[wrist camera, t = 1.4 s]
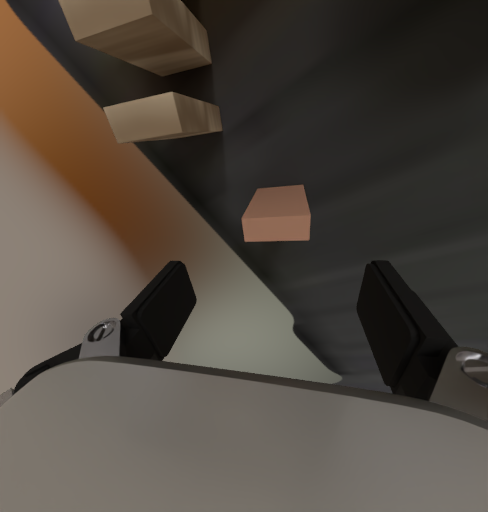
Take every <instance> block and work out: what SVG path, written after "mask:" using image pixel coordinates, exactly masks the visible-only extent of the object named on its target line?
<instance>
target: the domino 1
mask: <svg viewBox="0 0 488 512" xmlns="http://www.w3.org/2000/svg"><path fill="white" fill-rule="evenodd" d="M59 2H60V5H61V7H62V10H63V12H64V15H65V17H66V19H67V22H68V24H69V27H70V29H71V31H72V34H73V36H74V39H75V41H77V42H79V43H82V44H84V45H87V46H89V47H92V48H94V49H97V50H99V51H101V52H104V53H106V54H109V55H111V56H114V57H116V58H119V59H121V60H123V61H126V62H128V63H131V64H133V65H136V66H138V67H141V68H143V69H145V70H148V71H150V72H153V73H155V74H158V75H160V76H166V75H170V74H174V73H178V72H182V71H186V70H190V69H193V68H197V67H201V66H205V65H209V64H212V61H211V55H210V48H209V42H208V36H207V30H206V29H205V28H204V27H203V26H202V25H201V23H200V22H199V21H198V20H197V19H196V17H195V16H194V15H193V14H192V13H191V12H190V10H189V9H188V8H187V7H186V6H185V5H184V3H183V2H182V1H181V0H59Z"/></svg>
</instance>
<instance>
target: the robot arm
mask: <svg viewBox="0 0 488 512" xmlns="http://www.w3.org/2000/svg"><path fill="white" fill-rule="evenodd" d="M195 304H196V296H195V293H194V290H193V287H192V284H191V281H190V278H189V275H188V272H187V270H186V267H185V265H184V264H183V263H182V262H181V261H170V262H169V263H168V264H167V265H166V266H165V267H164V268H163V269H162V270H161V271H160V272H159V273H158V274H157V275H156V276H155V278H154V279H153V280H152V281H151V282H150V283H149V284H148V285H147V286H146V287H145V288H144V289H143V290H142V291H141V292H140V294H139V295H138V296H137V297H136V298H135V299H134V300H133V301H132V302H131V303H130V304H129V305H128V306H127V307H126V308H125V309H124V311H123V312H122V313H121V316H122V318H123V319H122V320H121V321H120V320H119V319H117V318H109V319H106V320H103V321H101V322H99V323H97V324H96V325H95V326H93V327H92V328H91V329H90V330H89V331H88V332H87V333H86V334H85V336H84V338H83V342H82V343H81V344H79V345H77V346H75V347H73V348H71V349H69V350H67V351H64V352H62V353H60V354H58V355H56V356H54V357H52V358H50V359H48V360H46V361H44V362H42V363H40V364H38V365H36V366H34V367H33V368H31V369H30V370H29V371H28V372H27V373H26V374H25V375H24V376H23V377H22V378H21V379H20V380H19V382H18V383H17V385H16V387H15V390H14V389H12V388H10V389H9V390H7V391H6V392H4V393H2V394H1V395H0V512H488V353H486V352H483V351H481V350H478V349H474V348H470V347H458V346H457V344H456V343H455V342H454V341H453V339H452V338H451V337H450V336H449V334H448V333H447V332H446V331H445V329H444V328H443V327H442V326H441V324H440V323H439V322H438V321H437V319H436V318H435V317H434V316H433V314H432V313H431V312H430V311H429V309H428V308H427V307H426V306H425V304H424V303H423V302H422V301H421V299H420V298H419V297H418V296H417V294H416V293H415V292H414V291H412V290H411V289H410V288H409V287H408V285H407V284H406V283H405V282H404V280H403V279H402V278H401V276H400V275H399V274H398V273H397V271H396V270H395V269H394V268H393V266H392V265H391V264H390V262H389V261H372V262H371V264H367V265H366V268H365V273H364V277H363V281H362V285H361V290H360V294H359V298H358V302H357V313H358V316H359V318H360V321H361V324H362V326H363V329H364V332H365V334H366V337H367V339H368V342H369V345H370V347H371V350H372V352H373V355H374V358H375V360H376V363H377V365H378V368H379V371H380V373H381V376H382V378H383V381H384V383H385V384H386V385H387V386H390V387H391V390H392V392H393V394H391V393H385V392H379V391H372V390H366V389H360V388H353V387H347V386H341V385H333V384H326V383H319V382H312V381H305V380H298V379H291V378H283V377H277V376H270V375H262V374H255V373H248V372H240V371H233V370H225V369H218V368H211V367H203V366H196V365H188V364H180V363H173V362H165V361H162V360H163V359H164V357H166V356H167V355H168V353H169V352H170V350H171V348H172V346H173V344H174V342H175V341H176V339H177V337H178V335H179V334H180V332H181V330H182V328H183V326H184V324H185V323H186V321H187V319H188V317H189V315H190V313H191V312H192V310H193V308H194V306H195Z"/></svg>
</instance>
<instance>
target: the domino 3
mask: <svg viewBox="0 0 488 512" xmlns="http://www.w3.org/2000/svg"><path fill="white" fill-rule="evenodd" d="M310 218H311V214H310V210H309V206H308V202H307V198H306V194H305V190H304V186H303V185H293V186H282V187H271V188H259V189H257V190H256V192H255V194H254V196H253V198H252V200H251V202H250V204H249V206H248V207H247V209H246V211H245V213H244V215H243V217H242V226H243V232H244V239H245V242H258V241H299V240H309V237H310Z"/></svg>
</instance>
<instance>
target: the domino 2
mask: <svg viewBox="0 0 488 512" xmlns="http://www.w3.org/2000/svg"><path fill="white" fill-rule="evenodd" d="M103 109H104V111H105V113H106V116H107V118H108V120H109V123H110V125H111V128H112V130H113V133H114V135H115V137H116V140H117V142H118V143H129V142H141V141H152V140H164V139H175V138H183V137H189V136H195V135H201V134H207V133H213V132H219V131H223V129H222V123H221V117H220V111H219V106H216V105H213V104H210V103H207V102H204V101H200V100H197V99H194V98H191V97H188V96H185V95H181V94H178V93H175V92H168V93H164V94H160V95H155V96H151V97H147V98H142V99H138V100H134V101H130V102H125V103H121V104H117V105H112V106H108V107H104V108H103Z"/></svg>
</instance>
